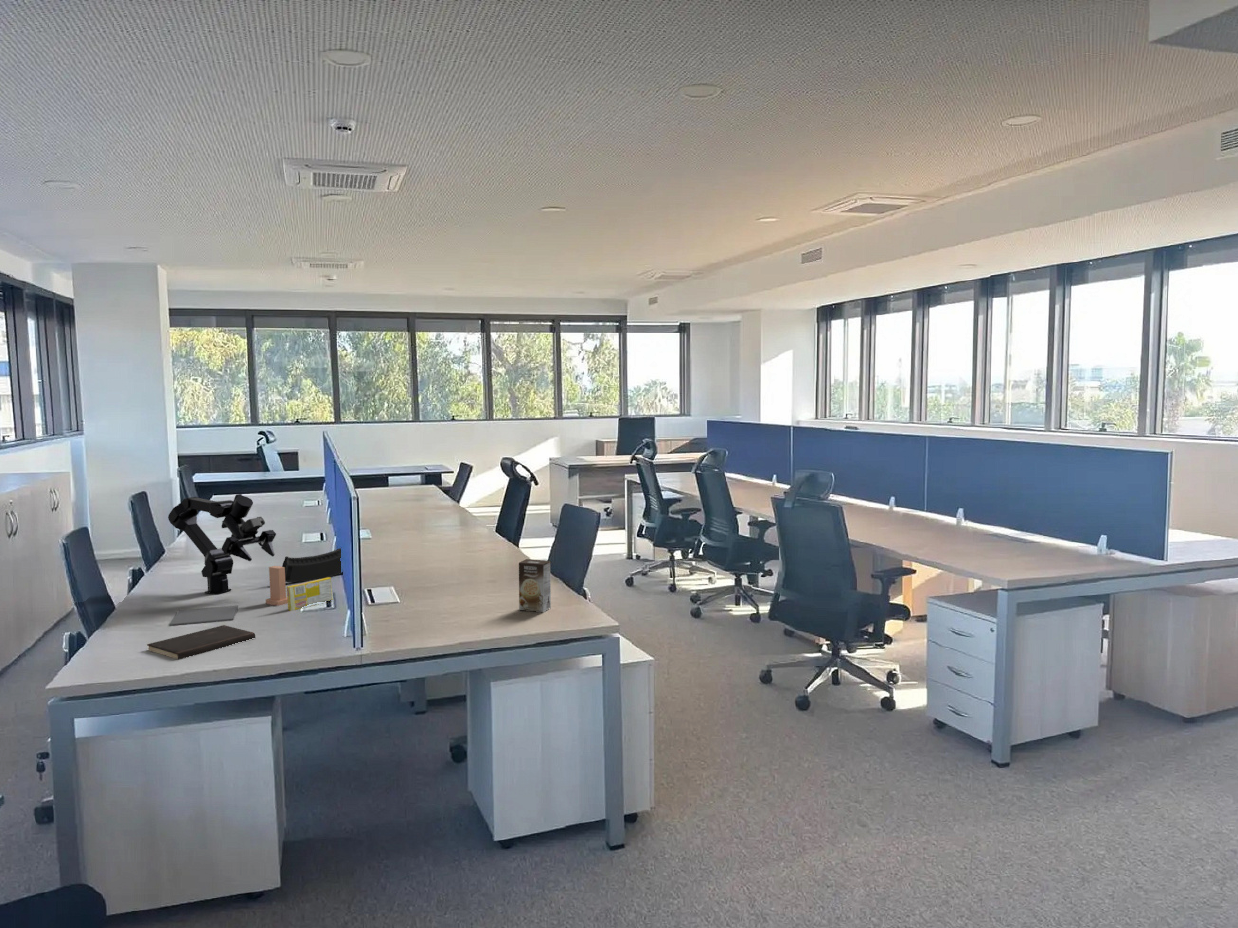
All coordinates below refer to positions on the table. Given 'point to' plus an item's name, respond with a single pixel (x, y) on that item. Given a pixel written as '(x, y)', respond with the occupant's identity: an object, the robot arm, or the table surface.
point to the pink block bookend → (277, 586)
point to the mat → (204, 615)
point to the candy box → (309, 593)
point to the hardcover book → (200, 642)
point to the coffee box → (534, 585)
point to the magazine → (312, 567)
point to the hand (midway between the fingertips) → (262, 557)
